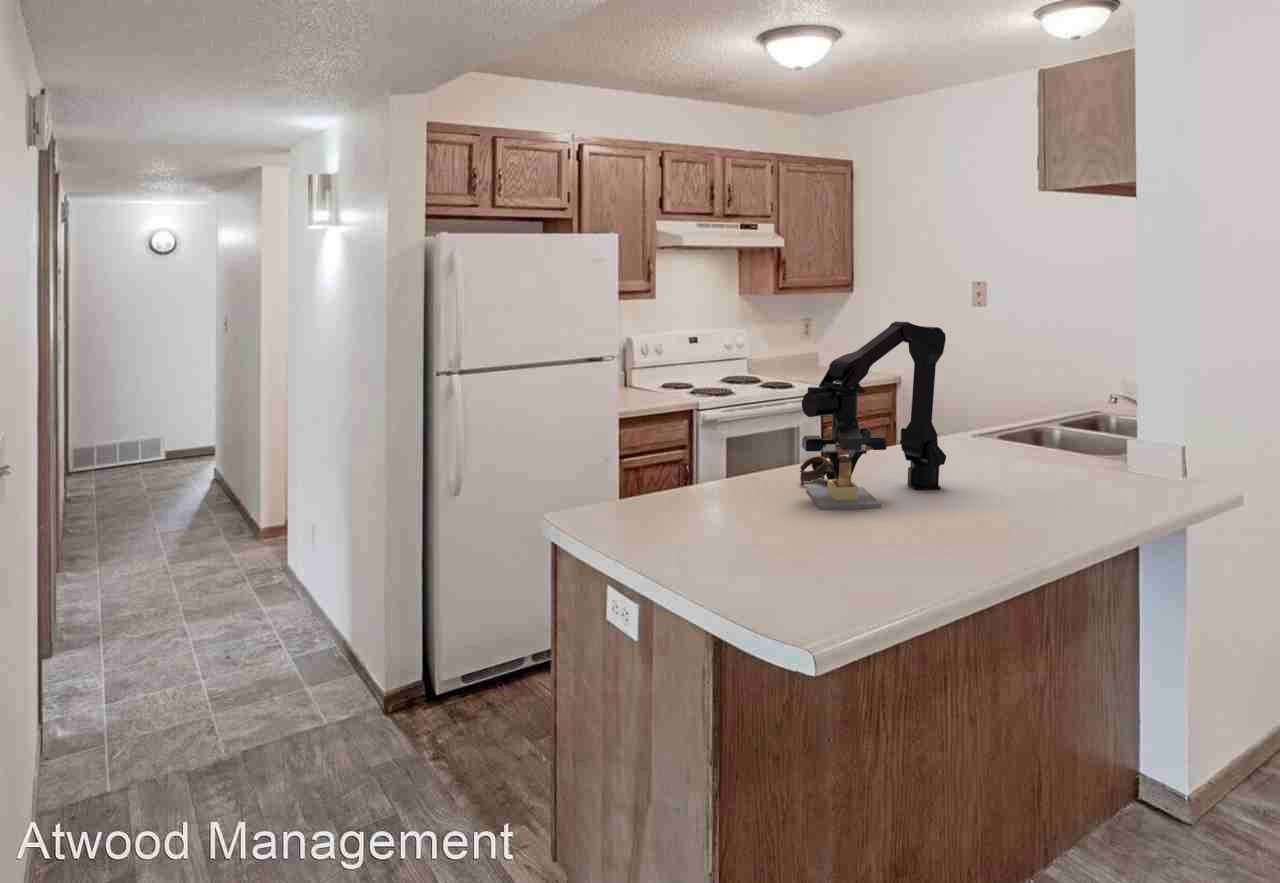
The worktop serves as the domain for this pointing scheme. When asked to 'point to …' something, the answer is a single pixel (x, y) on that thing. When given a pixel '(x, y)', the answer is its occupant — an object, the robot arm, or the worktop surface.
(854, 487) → the grey board with socket
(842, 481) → the wood topped block
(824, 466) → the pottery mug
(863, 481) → the worktop surface
